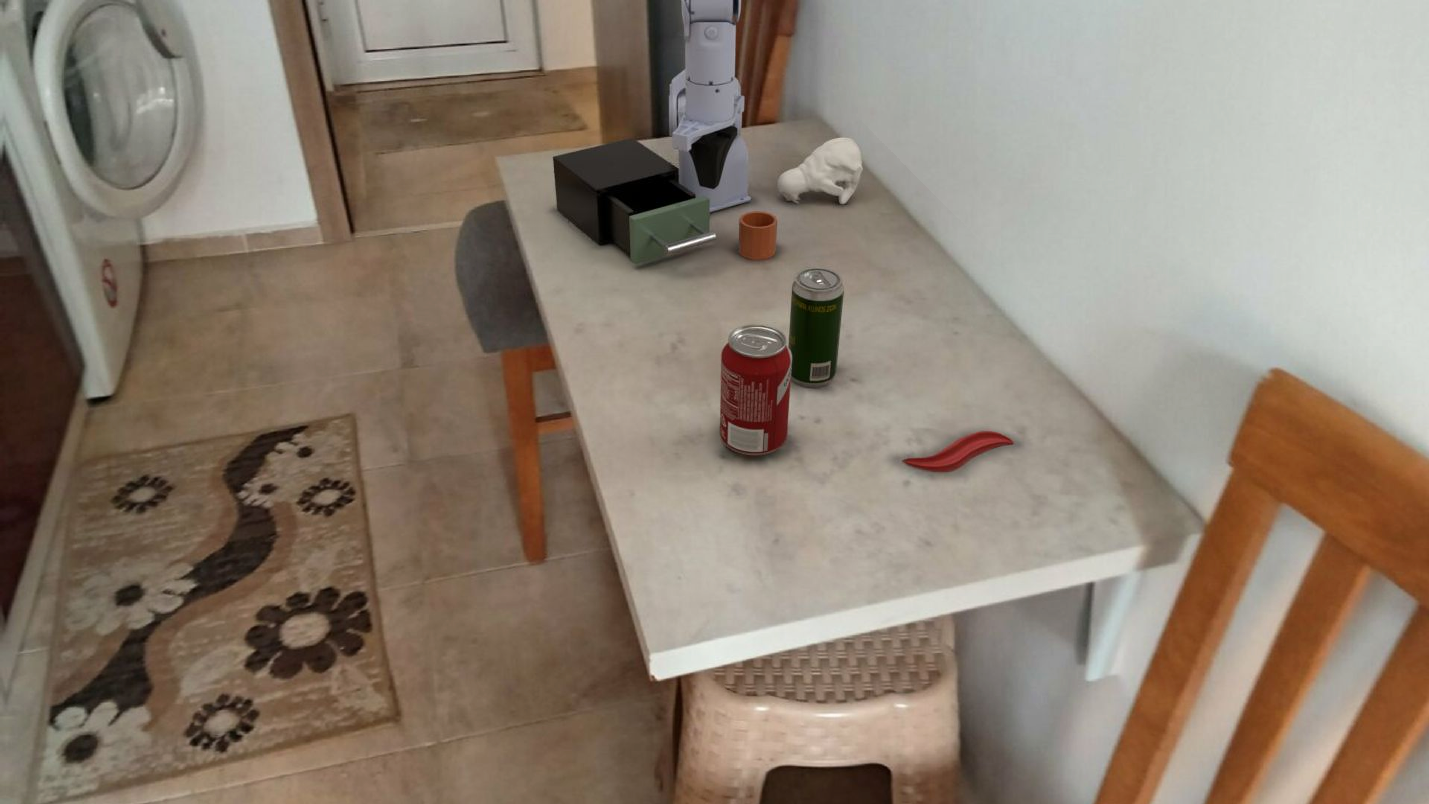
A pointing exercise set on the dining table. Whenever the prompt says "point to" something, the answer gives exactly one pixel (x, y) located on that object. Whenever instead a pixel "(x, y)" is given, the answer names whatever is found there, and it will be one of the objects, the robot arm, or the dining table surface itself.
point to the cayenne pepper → (960, 451)
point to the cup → (757, 235)
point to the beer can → (815, 326)
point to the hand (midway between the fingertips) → (709, 185)
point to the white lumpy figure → (825, 171)
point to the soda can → (755, 390)
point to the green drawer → (656, 219)
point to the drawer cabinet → (603, 180)
